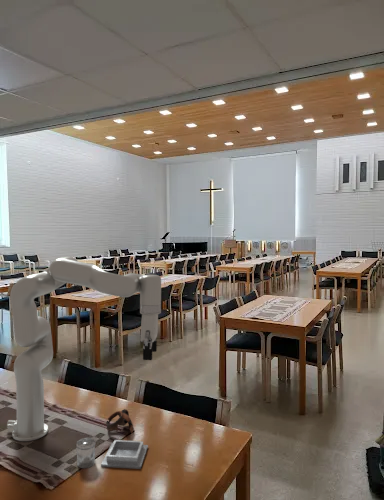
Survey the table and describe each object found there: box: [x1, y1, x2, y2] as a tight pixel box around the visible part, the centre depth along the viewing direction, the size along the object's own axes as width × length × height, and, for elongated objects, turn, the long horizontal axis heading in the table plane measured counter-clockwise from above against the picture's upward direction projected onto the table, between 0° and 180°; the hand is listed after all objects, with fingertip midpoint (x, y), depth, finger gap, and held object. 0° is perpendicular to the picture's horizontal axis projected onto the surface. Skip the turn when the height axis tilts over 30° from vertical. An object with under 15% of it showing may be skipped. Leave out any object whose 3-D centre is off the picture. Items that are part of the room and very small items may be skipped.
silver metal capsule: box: [76, 437, 96, 469], centre depth 132 cm, size 6×6×7 cm
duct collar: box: [100, 439, 149, 470], centre depth 136 cm, size 13×13×3 cm
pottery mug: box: [105, 408, 135, 434], centre depth 154 cm, size 12×10×8 cm
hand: (150, 355), depth 146 cm, fingers open, 9 cm apart
